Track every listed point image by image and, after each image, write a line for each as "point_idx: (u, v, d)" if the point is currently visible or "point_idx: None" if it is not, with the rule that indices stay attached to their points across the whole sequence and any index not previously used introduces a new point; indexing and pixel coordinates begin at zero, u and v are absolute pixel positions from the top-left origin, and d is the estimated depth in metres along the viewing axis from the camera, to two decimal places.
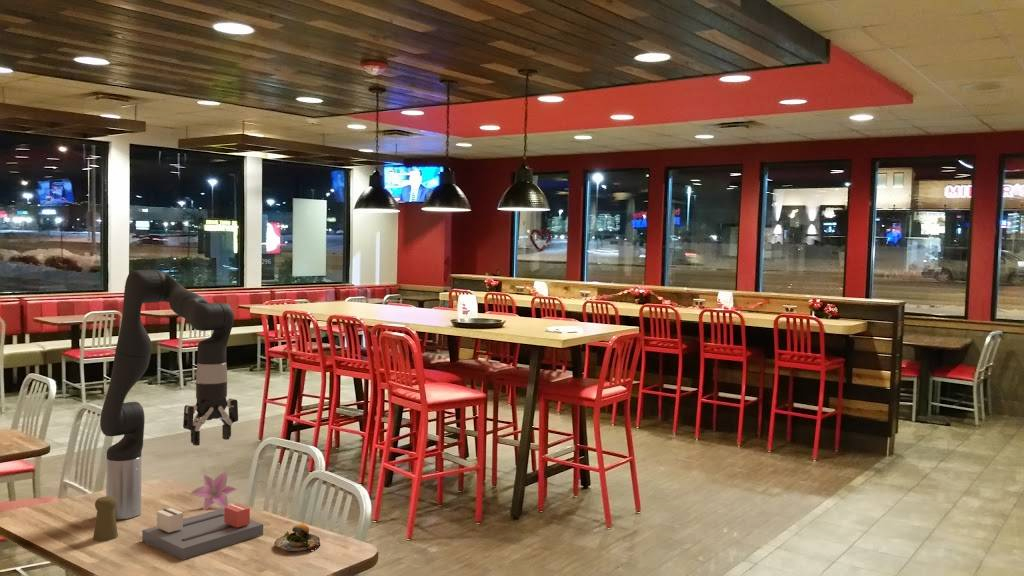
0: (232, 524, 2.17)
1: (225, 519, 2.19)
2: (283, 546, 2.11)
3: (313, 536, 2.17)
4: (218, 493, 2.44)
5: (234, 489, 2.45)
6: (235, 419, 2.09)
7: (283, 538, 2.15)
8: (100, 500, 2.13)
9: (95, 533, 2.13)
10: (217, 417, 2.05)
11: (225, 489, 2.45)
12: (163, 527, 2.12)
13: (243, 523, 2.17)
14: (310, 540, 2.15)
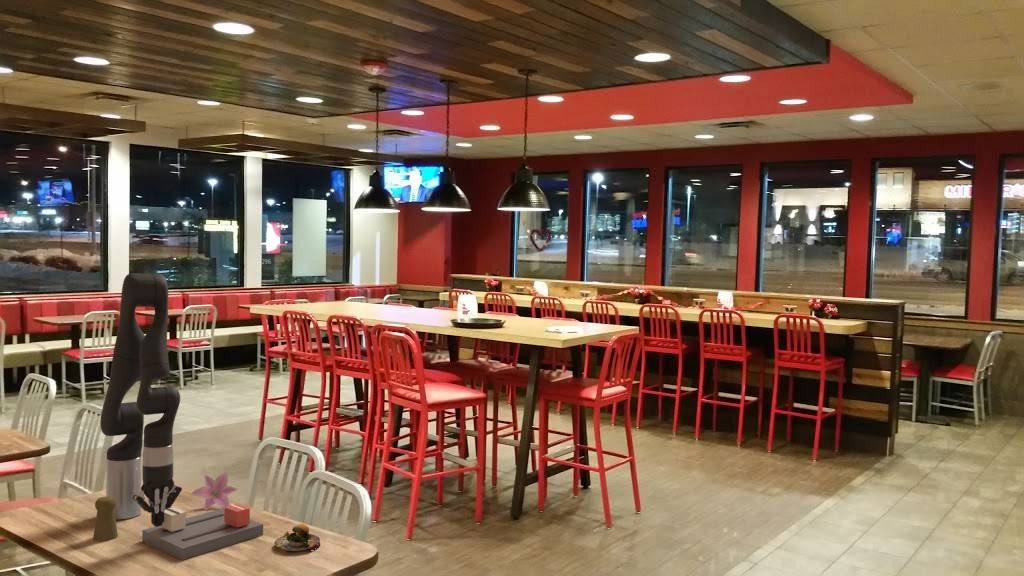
0: (232, 524, 2.17)
1: (225, 519, 2.19)
2: (283, 546, 2.11)
3: (313, 536, 2.17)
4: (219, 493, 2.44)
5: (235, 489, 2.45)
6: (169, 505, 2.12)
7: (283, 538, 2.15)
8: (100, 500, 2.13)
9: (95, 533, 2.13)
10: None
11: (226, 490, 2.44)
12: (166, 526, 2.13)
13: (243, 523, 2.17)
14: (310, 540, 2.15)
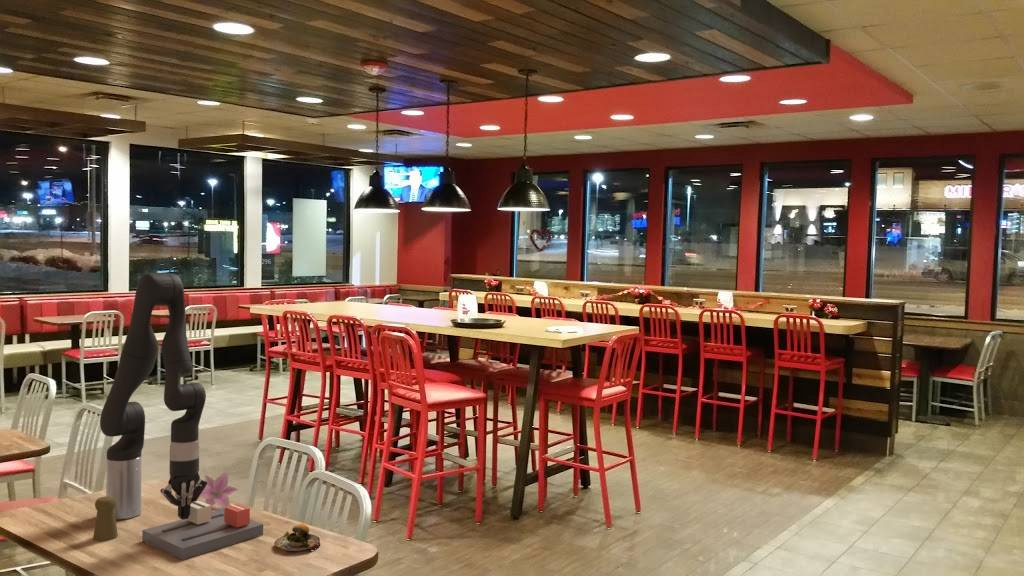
0: (232, 524, 2.17)
1: (225, 519, 2.19)
2: (283, 546, 2.11)
3: (313, 536, 2.17)
4: (219, 493, 2.44)
5: (235, 489, 2.45)
6: (194, 498, 2.18)
7: (283, 538, 2.15)
8: (100, 500, 2.13)
9: (95, 533, 2.13)
10: None
11: (227, 490, 2.44)
12: (191, 519, 2.19)
13: (243, 523, 2.17)
14: (310, 540, 2.15)
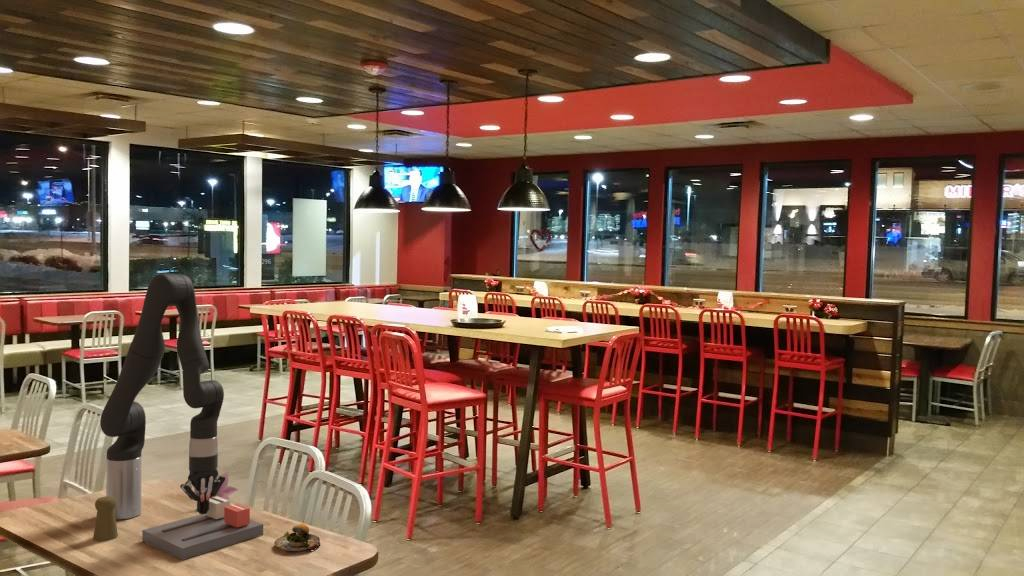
0: (232, 524, 2.17)
1: (225, 519, 2.19)
2: (283, 546, 2.11)
3: (313, 536, 2.17)
4: (219, 493, 2.44)
5: (235, 489, 2.45)
6: (213, 493, 2.23)
7: (283, 538, 2.15)
8: (100, 500, 2.13)
9: (95, 533, 2.13)
10: None
11: (227, 490, 2.44)
12: (210, 514, 2.23)
13: (243, 523, 2.17)
14: (310, 540, 2.15)
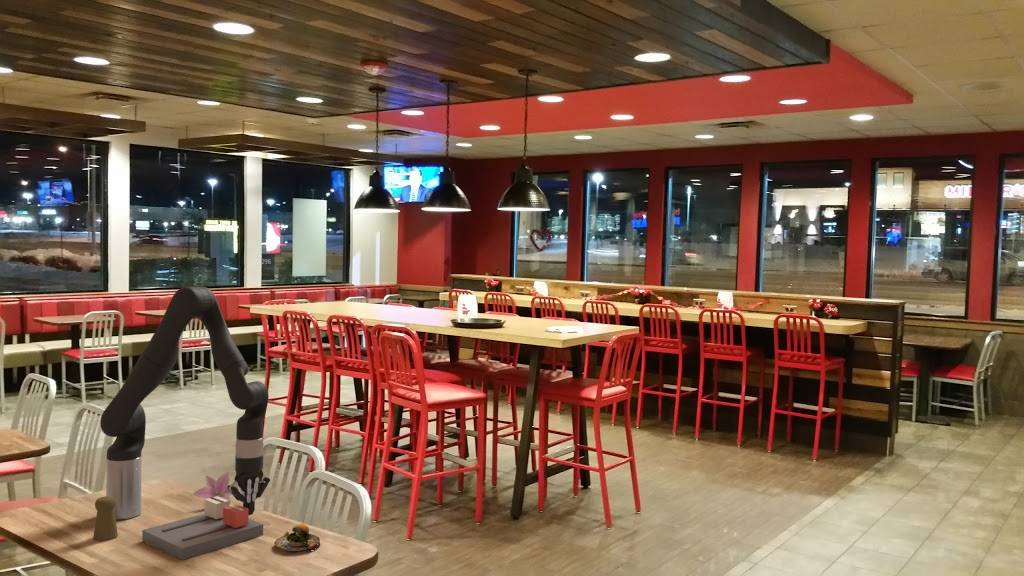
0: (231, 524, 2.16)
1: (224, 519, 2.18)
2: (283, 546, 2.11)
3: (313, 536, 2.17)
4: (220, 494, 2.44)
5: None
6: (259, 494, 2.23)
7: (283, 538, 2.15)
8: (100, 500, 2.13)
9: (95, 533, 2.13)
10: None
11: (228, 490, 2.44)
12: (210, 514, 2.23)
13: (242, 523, 2.17)
14: (310, 540, 2.15)
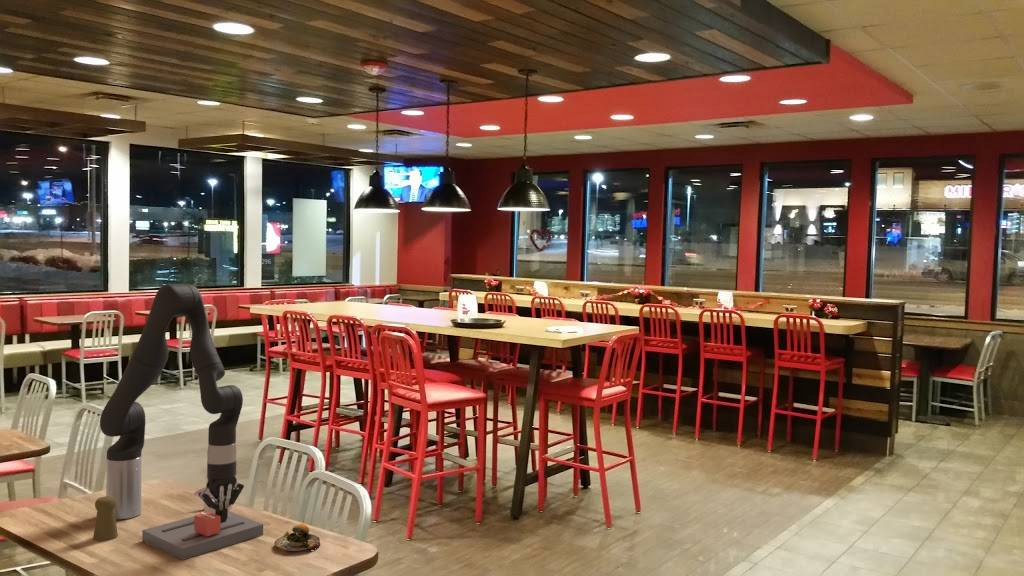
0: (202, 533, 2.10)
1: (195, 527, 2.12)
2: (283, 546, 2.11)
3: (313, 536, 2.17)
4: None
5: None
6: (232, 501, 2.16)
7: (283, 538, 2.15)
8: (100, 500, 2.13)
9: (95, 533, 2.13)
10: None
11: None
12: None
13: (213, 532, 2.10)
14: (310, 540, 2.15)
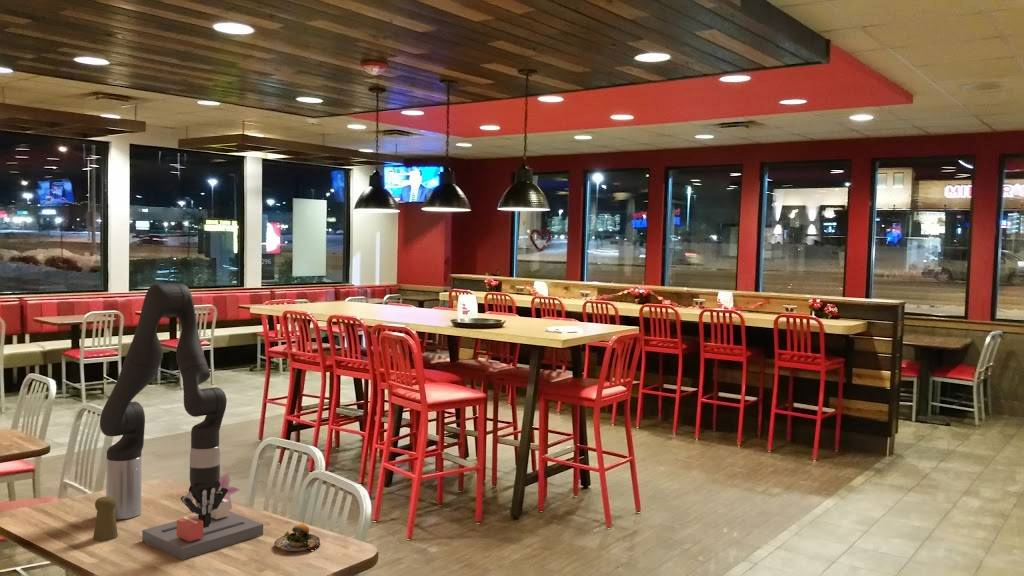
0: (184, 538, 2.06)
1: (177, 532, 2.08)
2: (283, 546, 2.11)
3: (313, 536, 2.17)
4: None
5: (237, 490, 2.45)
6: (215, 506, 2.12)
7: (283, 538, 2.15)
8: (100, 500, 2.13)
9: (95, 533, 2.13)
10: None
11: (228, 490, 2.44)
12: None
13: (196, 537, 2.06)
14: (310, 540, 2.15)
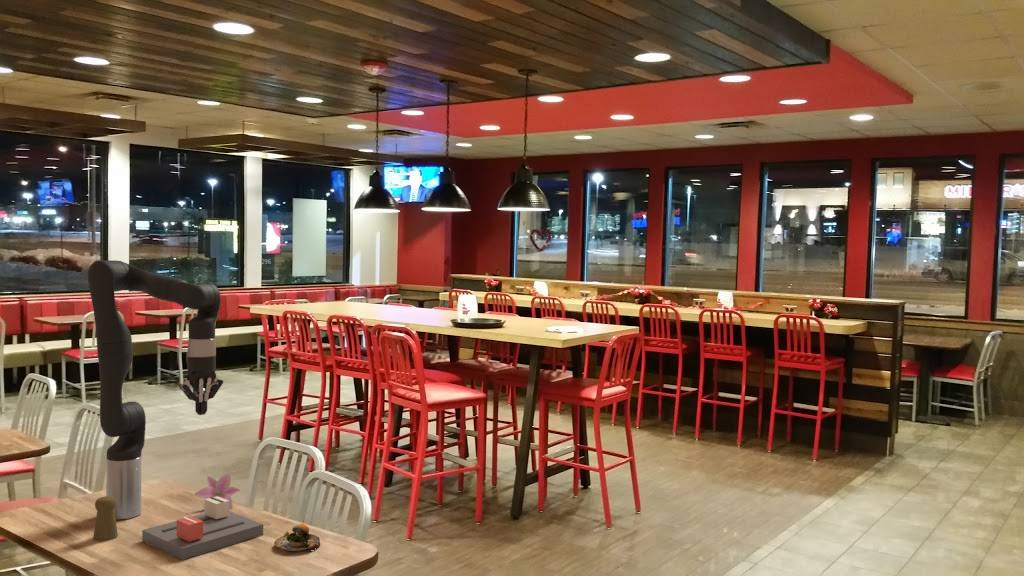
0: (184, 538, 2.06)
1: (177, 533, 2.08)
2: (283, 546, 2.11)
3: (313, 536, 2.17)
4: (222, 494, 2.43)
5: (238, 490, 2.45)
6: (211, 395, 2.26)
7: (283, 538, 2.15)
8: (100, 500, 2.13)
9: (95, 533, 2.13)
10: None
11: (229, 490, 2.44)
12: (210, 514, 2.23)
13: (196, 537, 2.06)
14: (310, 540, 2.15)
